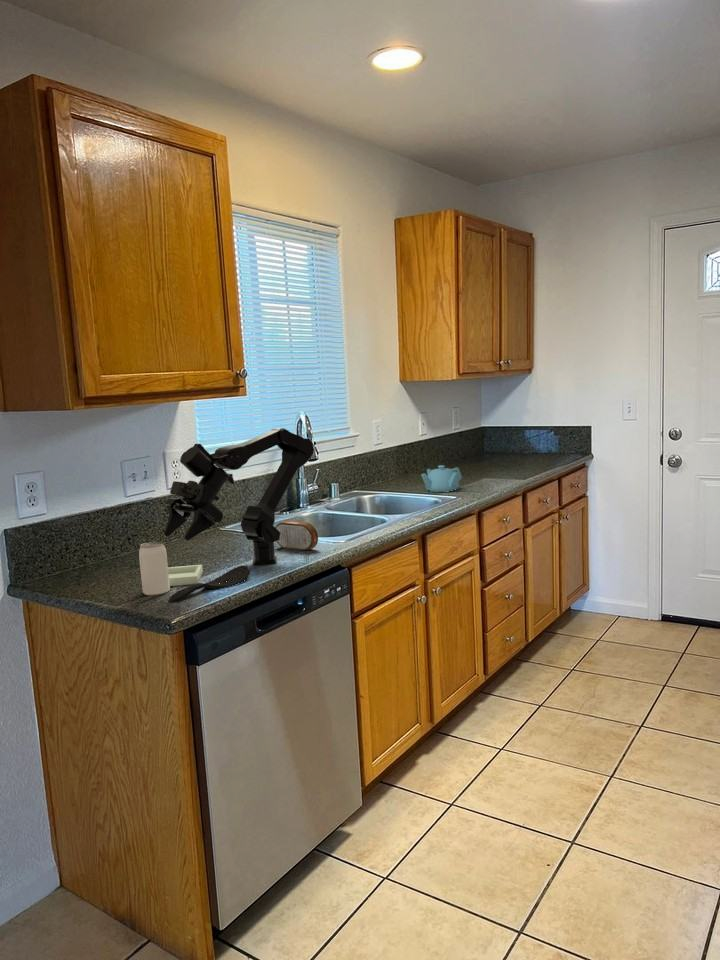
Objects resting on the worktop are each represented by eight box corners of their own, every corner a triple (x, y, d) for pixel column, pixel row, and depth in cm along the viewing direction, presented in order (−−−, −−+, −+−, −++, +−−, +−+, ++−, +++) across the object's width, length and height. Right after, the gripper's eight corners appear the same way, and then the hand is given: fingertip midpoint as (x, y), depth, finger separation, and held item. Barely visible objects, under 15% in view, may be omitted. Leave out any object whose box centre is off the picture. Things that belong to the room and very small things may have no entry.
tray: (157, 575, 198) (156, 568, 198) (202, 571, 199) (202, 564, 199) (149, 587, 186) (148, 580, 186) (197, 583, 188) (197, 576, 187)
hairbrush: (157, 590, 175) (233, 560, 195) (159, 605, 176) (235, 574, 195) (180, 594, 170) (256, 563, 190) (182, 610, 171) (258, 577, 190)
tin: (319, 550, 217) (317, 521, 216) (313, 552, 215) (311, 524, 213) (280, 546, 226) (278, 518, 225) (273, 548, 223) (271, 520, 222)
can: (161, 586, 187) (157, 540, 185) (175, 591, 182) (170, 543, 181) (138, 593, 182) (133, 545, 181) (151, 597, 178) (146, 548, 176)
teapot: (458, 493, 304) (457, 467, 302) (421, 494, 307) (420, 468, 306) (462, 487, 318) (461, 462, 317) (427, 488, 322) (426, 463, 320)
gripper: (168, 467, 193) (133, 515, 187) (209, 470, 180) (173, 522, 174) (196, 492, 200) (164, 540, 194) (238, 497, 187) (204, 548, 181)
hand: (175, 537), depth 185 cm, fingers open, 9 cm apart
